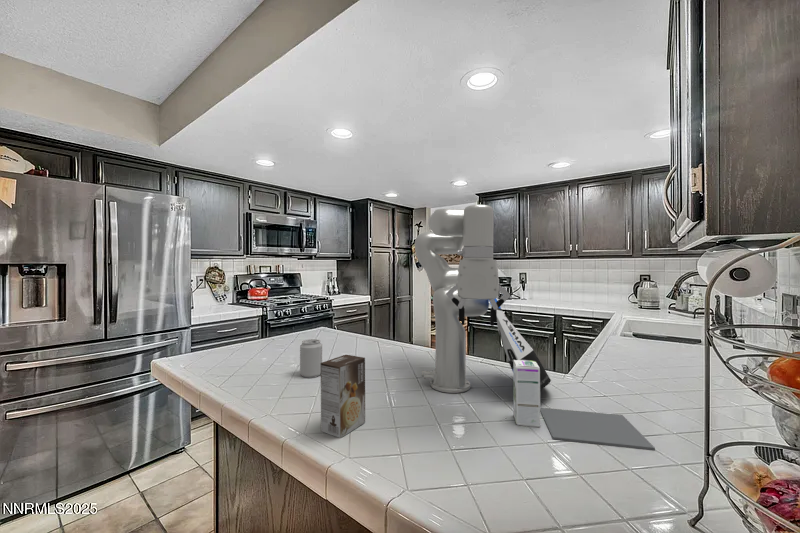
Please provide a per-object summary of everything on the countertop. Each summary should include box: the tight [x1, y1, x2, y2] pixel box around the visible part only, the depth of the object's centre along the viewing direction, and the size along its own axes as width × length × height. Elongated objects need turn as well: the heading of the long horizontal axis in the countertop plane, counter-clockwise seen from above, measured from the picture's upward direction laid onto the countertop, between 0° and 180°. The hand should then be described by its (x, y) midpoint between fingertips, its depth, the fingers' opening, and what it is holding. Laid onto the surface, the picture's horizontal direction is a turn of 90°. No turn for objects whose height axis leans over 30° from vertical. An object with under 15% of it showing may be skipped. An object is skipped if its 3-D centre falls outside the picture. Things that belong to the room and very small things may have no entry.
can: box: [299, 338, 323, 379], centre depth 118 cm, size 8×8×12 cm
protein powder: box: [488, 298, 552, 391], centre depth 106 cm, size 10×24×30 cm, turn 157°
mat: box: [540, 407, 656, 451], centre depth 81 cm, size 20×16×1 cm
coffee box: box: [320, 354, 366, 439], centre depth 81 cm, size 9×6×16 cm
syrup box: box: [512, 360, 541, 428], centre depth 84 cm, size 6×6×14 cm
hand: (477, 323), depth 87 cm, fingers open, 6 cm apart
